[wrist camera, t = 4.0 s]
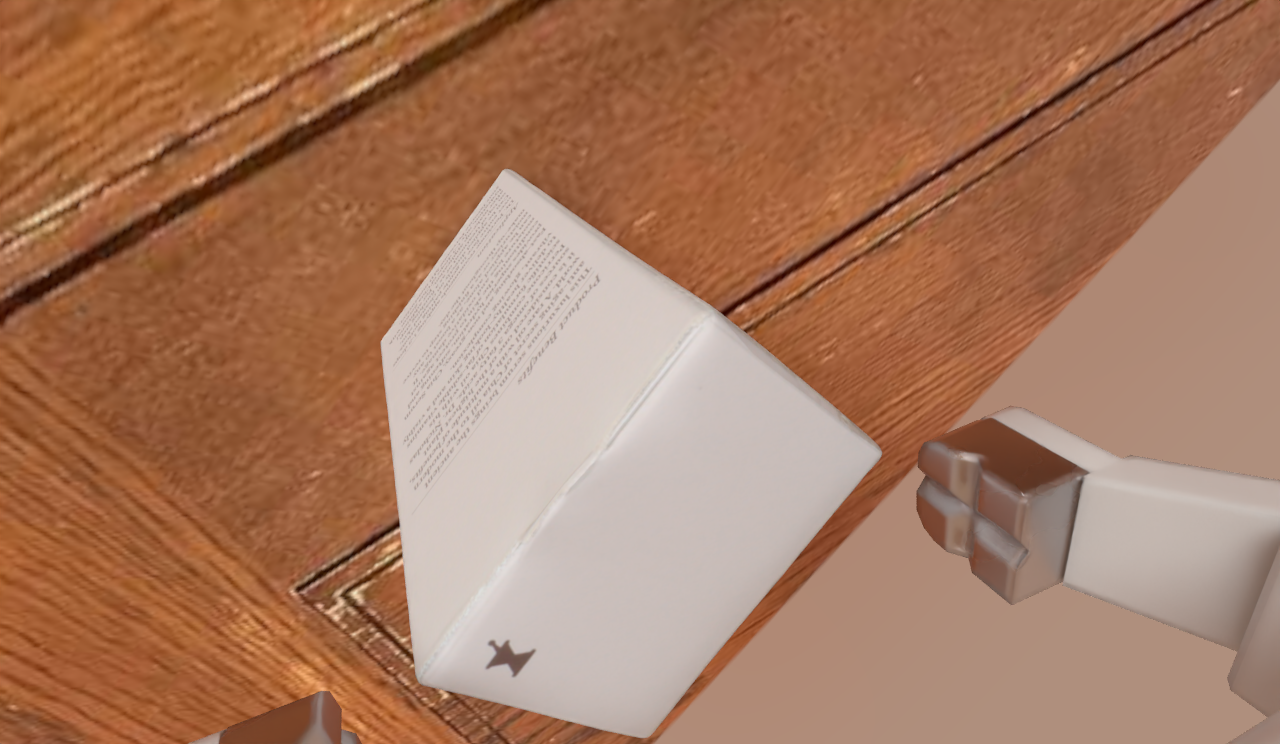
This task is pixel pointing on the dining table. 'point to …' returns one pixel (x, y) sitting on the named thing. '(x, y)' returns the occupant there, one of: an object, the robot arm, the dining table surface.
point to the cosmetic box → (591, 469)
